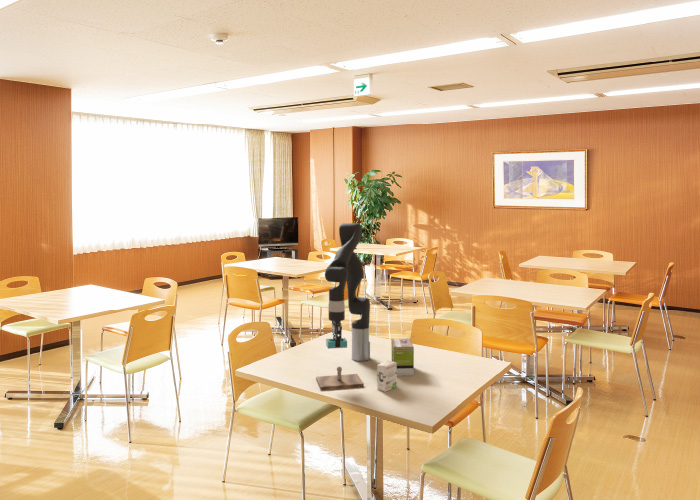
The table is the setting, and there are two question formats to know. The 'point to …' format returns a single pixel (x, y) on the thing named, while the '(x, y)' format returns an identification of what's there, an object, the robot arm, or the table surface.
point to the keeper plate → (339, 381)
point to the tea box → (403, 356)
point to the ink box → (386, 375)
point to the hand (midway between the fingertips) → (336, 345)
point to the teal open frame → (331, 343)
